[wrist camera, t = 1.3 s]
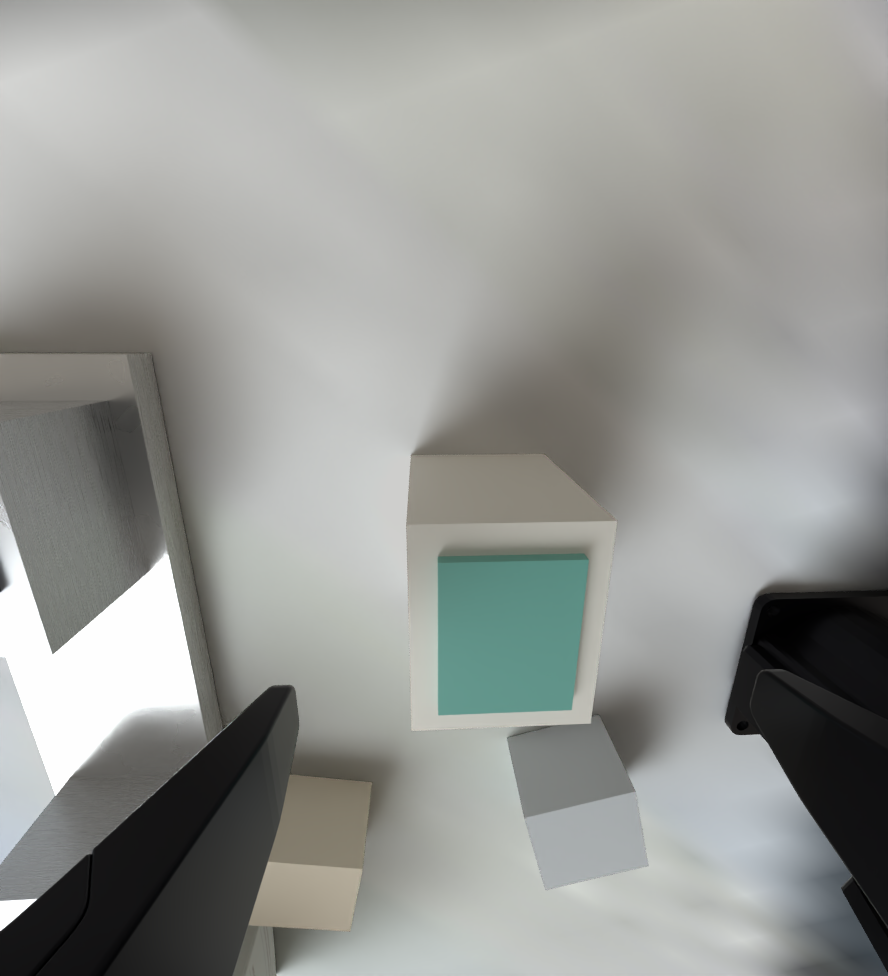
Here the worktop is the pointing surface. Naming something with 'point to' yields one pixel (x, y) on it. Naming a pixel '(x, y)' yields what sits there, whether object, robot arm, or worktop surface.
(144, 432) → the rail
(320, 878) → the beige block
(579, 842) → the block
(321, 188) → the worktop surface
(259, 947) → the supplement box
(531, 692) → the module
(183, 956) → the robot arm
